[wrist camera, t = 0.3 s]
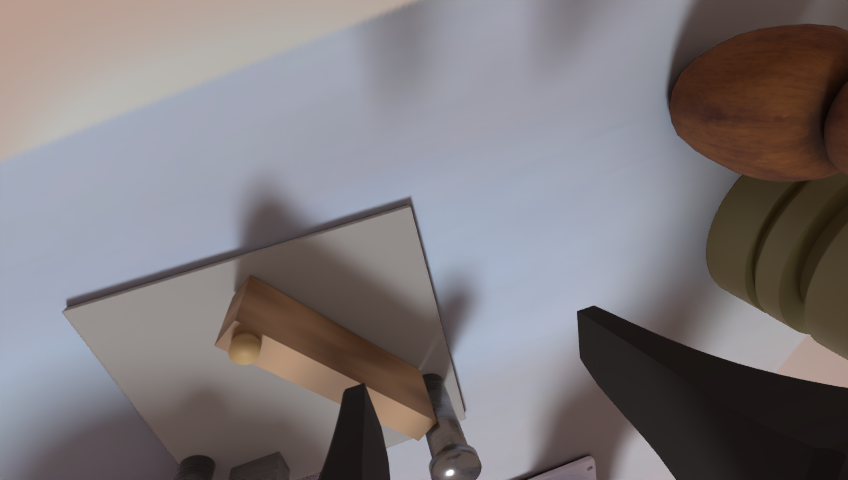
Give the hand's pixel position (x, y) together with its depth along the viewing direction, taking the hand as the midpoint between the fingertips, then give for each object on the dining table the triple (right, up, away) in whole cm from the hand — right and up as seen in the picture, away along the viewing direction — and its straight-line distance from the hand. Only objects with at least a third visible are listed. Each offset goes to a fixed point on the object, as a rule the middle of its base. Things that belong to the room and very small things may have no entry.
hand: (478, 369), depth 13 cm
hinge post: (-2, -5, +13) cm, 14 cm away
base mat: (-9, -4, +11) cm, 14 cm away
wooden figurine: (+14, +12, +10) cm, 21 cm away
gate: (-7, -1, +10) cm, 12 cm away
